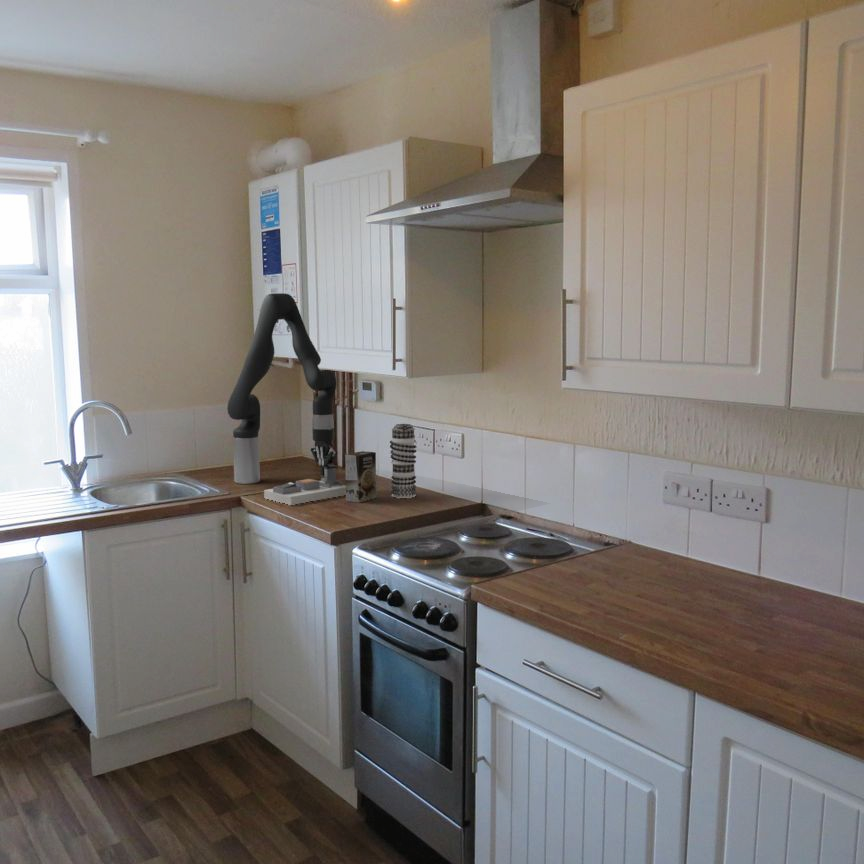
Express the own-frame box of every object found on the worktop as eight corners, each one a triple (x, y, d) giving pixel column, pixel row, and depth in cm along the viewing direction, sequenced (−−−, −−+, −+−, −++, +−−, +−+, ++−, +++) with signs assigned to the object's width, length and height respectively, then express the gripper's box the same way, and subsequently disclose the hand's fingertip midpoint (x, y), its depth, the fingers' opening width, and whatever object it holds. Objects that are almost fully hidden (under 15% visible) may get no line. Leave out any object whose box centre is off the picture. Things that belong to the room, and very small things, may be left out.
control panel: (264, 498, 293) (263, 483, 292) (323, 488, 310) (322, 473, 309) (291, 505, 281) (290, 489, 281) (350, 494, 299) (350, 479, 298)
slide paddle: (323, 485, 299) (323, 466, 298) (333, 483, 302) (333, 464, 301) (327, 486, 298) (326, 467, 297) (337, 484, 301) (337, 465, 300)
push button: (299, 487, 295) (299, 480, 295) (309, 485, 298) (308, 479, 298) (306, 489, 292) (306, 482, 292) (315, 487, 295) (315, 480, 295)
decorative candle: (388, 493, 299) (388, 423, 296) (415, 492, 301) (414, 422, 298) (392, 499, 290) (391, 426, 287) (418, 498, 292) (418, 425, 289)
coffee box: (359, 503, 285) (358, 455, 283) (345, 500, 289) (344, 453, 287) (377, 498, 292) (376, 451, 290) (363, 496, 296) (362, 450, 294)
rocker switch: (277, 490, 289) (277, 486, 289) (290, 485, 292) (289, 481, 292) (283, 491, 286) (283, 488, 286) (296, 486, 290) (295, 483, 289)
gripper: (303, 426, 302) (304, 474, 304) (325, 429, 292) (327, 479, 295) (320, 424, 307) (321, 471, 309) (343, 427, 298) (344, 476, 300)
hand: (324, 475), depth 302 cm, fingers closed
